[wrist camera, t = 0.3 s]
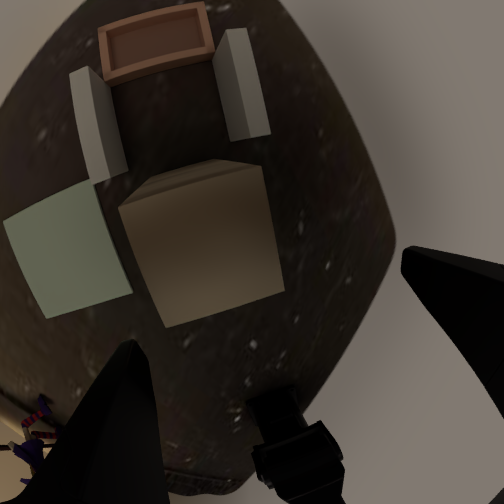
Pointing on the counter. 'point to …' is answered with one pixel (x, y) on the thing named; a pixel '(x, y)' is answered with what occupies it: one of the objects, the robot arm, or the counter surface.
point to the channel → (231, 94)
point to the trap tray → (155, 42)
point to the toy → (33, 440)
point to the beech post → (203, 239)
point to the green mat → (67, 251)
